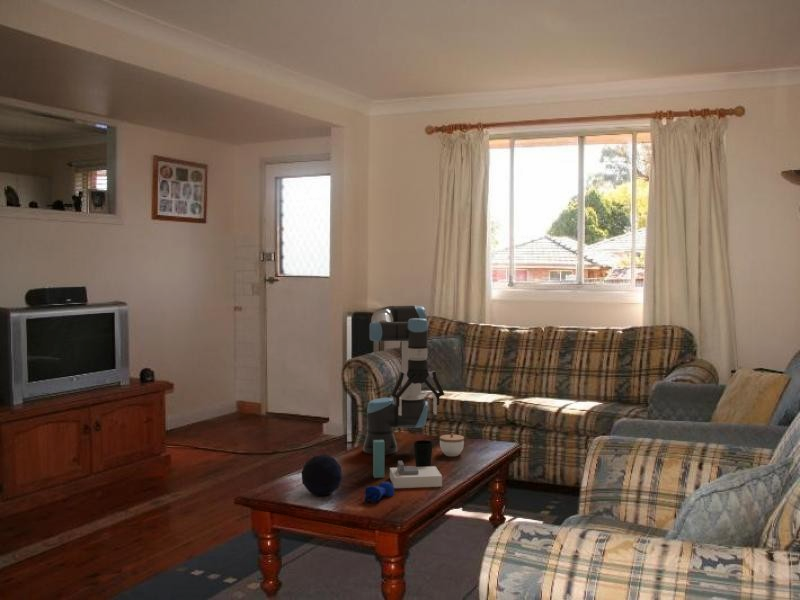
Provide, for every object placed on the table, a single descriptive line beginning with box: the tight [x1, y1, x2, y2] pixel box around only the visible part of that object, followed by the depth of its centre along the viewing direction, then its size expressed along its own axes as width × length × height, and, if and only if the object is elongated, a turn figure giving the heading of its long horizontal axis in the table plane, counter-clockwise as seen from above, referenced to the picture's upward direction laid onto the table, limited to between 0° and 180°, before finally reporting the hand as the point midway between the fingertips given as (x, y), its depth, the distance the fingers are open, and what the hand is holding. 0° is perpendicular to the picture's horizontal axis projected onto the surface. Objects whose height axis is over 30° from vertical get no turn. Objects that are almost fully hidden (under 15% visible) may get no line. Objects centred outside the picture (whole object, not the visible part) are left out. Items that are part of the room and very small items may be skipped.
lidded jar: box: [439, 432, 465, 457], centre depth 343 cm, size 11×11×9 cm
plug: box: [372, 440, 386, 479], centre depth 309 cm, size 4×4×14 cm
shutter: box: [396, 460, 418, 475], centre depth 300 cm, size 7×7×4 cm
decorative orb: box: [300, 454, 343, 497], centre depth 285 cm, size 14×15×15 cm
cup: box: [413, 439, 434, 467], centre depth 315 cm, size 8×8×12 cm
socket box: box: [389, 465, 443, 489], centre depth 301 cm, size 14×18×4 cm
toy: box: [363, 481, 395, 505], centre depth 281 cm, size 7×6×15 cm
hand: (417, 414), depth 300 cm, fingers open, 13 cm apart
